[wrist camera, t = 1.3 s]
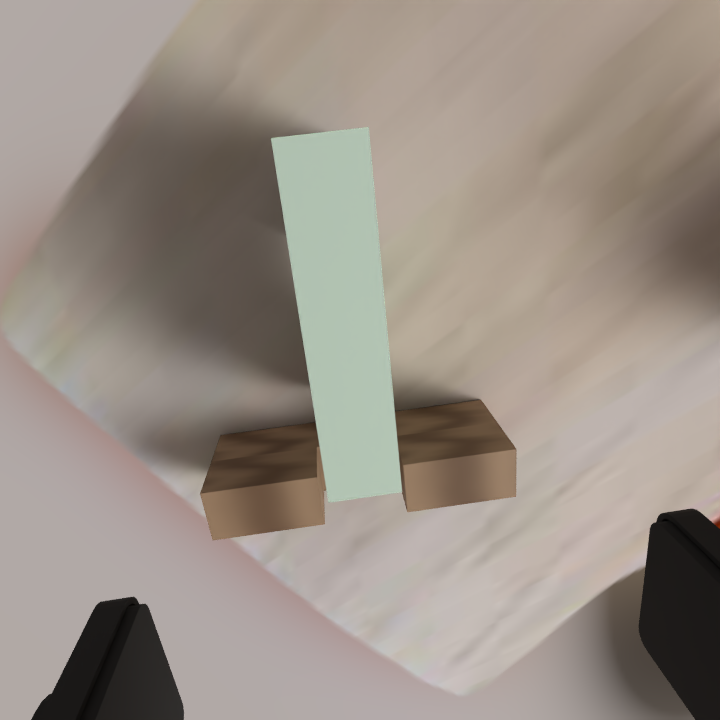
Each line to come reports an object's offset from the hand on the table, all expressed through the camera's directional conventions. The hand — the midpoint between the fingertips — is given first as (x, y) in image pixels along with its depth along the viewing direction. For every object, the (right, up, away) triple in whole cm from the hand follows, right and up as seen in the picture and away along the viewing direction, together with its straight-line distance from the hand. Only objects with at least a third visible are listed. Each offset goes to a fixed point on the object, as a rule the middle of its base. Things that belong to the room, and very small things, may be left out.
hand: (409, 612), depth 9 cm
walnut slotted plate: (-1, -2, +33) cm, 34 cm away
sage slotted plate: (-3, +11, +28) cm, 31 cm away
